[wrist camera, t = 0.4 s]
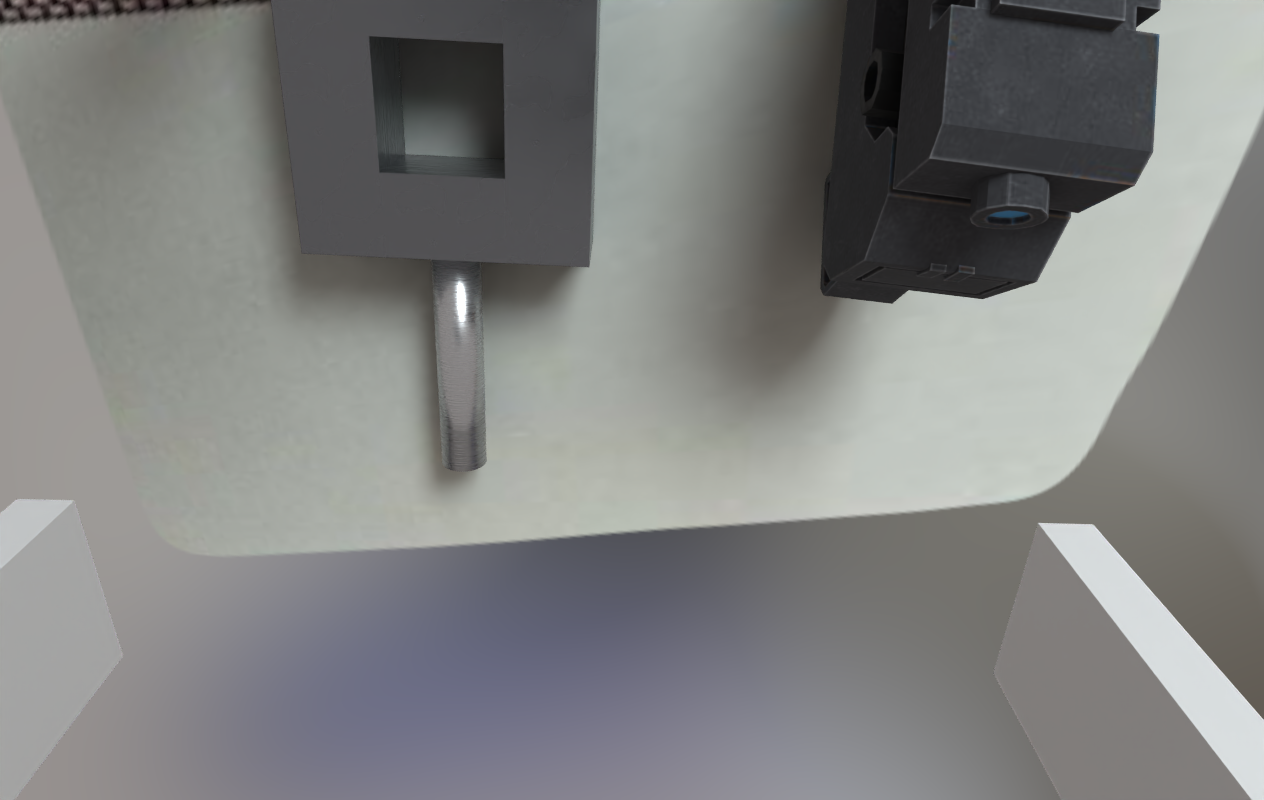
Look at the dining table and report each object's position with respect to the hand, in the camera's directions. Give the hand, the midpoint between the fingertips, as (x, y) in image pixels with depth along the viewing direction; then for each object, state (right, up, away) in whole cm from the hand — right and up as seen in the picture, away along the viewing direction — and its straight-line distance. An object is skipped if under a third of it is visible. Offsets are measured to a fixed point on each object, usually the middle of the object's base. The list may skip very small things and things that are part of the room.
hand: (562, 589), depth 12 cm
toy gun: (+11, +18, +21) cm, 29 cm away
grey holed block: (-6, +10, +24) cm, 26 cm away
